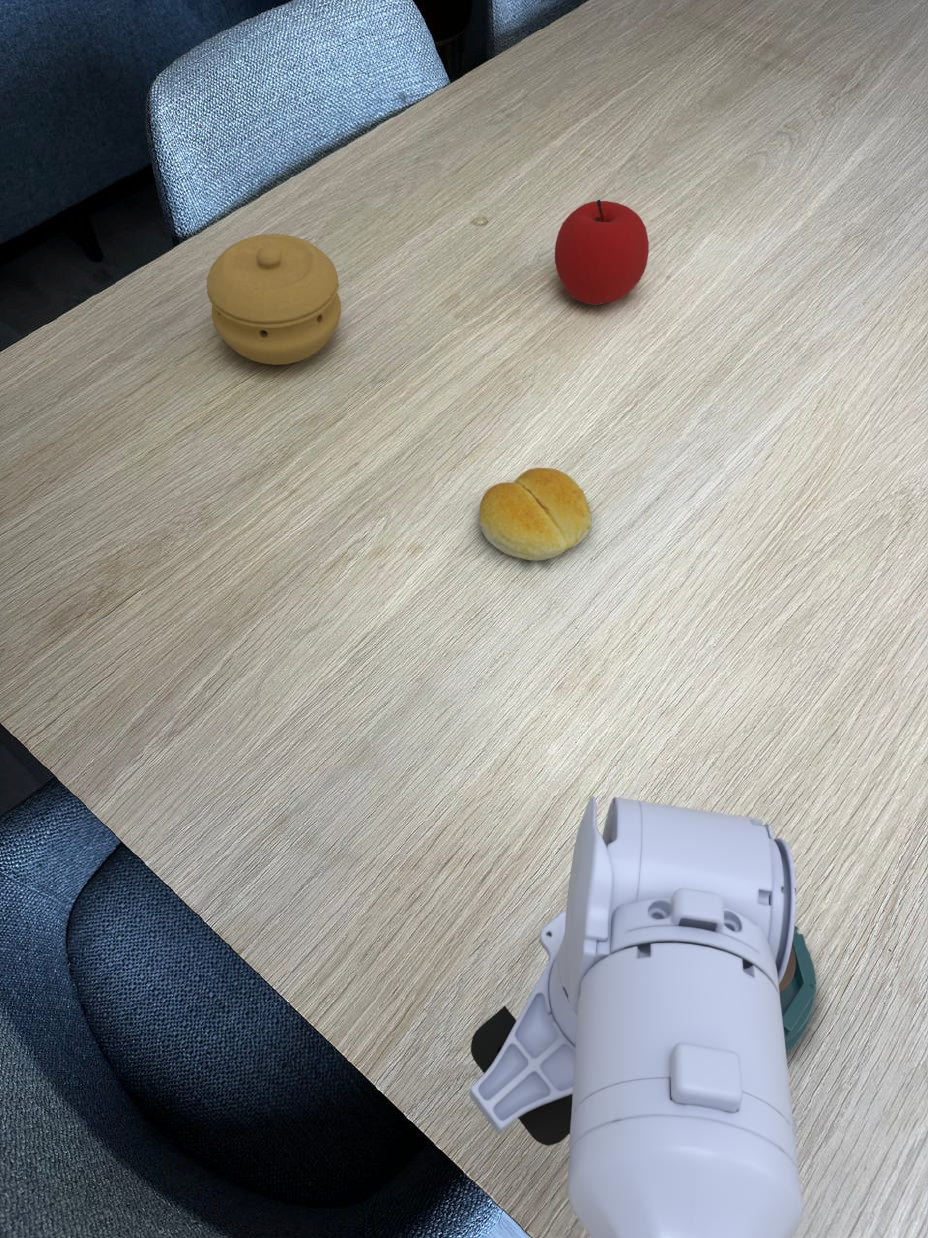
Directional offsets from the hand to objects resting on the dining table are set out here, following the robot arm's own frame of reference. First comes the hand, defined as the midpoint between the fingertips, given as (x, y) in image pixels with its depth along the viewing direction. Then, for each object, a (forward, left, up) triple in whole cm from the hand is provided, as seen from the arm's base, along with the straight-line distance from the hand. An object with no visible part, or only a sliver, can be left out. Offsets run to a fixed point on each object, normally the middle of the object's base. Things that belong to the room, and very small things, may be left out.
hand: (589, 1032), depth 52 cm
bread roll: (+42, -4, -11) cm, 44 cm away
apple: (+72, -14, -11) cm, 75 cm away
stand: (+4, -11, -10) cm, 16 cm away
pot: (+66, +17, -11) cm, 70 cm away
